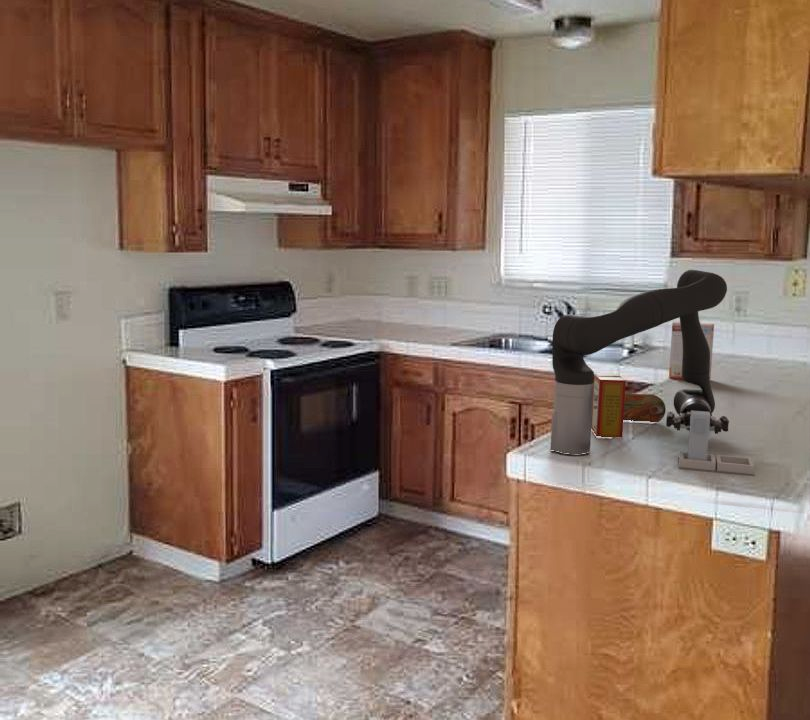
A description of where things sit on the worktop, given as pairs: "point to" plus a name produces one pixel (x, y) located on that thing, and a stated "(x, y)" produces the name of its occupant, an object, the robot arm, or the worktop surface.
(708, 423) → the plug
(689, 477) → the worktop surface
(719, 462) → the grey divided tray
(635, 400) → the tin
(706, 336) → the cracker box
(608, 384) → the baking soda box
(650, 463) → the worktop surface
